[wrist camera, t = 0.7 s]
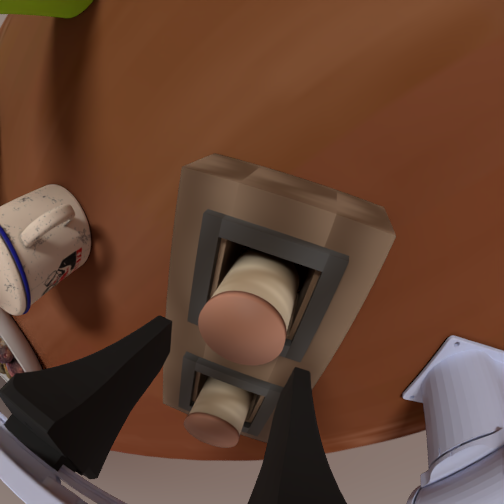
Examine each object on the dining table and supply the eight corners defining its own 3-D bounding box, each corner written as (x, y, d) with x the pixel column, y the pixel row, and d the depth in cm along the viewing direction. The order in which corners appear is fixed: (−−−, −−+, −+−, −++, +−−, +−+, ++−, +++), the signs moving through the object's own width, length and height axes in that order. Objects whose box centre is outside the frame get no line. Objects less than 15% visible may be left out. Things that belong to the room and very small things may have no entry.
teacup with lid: (65, 277, 29) (-9, 339, 19) (27, 205, 26) (-57, 252, 16) (130, 239, 24) (26, 323, 14) (81, 145, 21) (-41, 189, 11)
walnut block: (384, 207, 17) (397, 241, 13) (282, 408, 28) (271, 449, 24) (215, 153, 19) (176, 169, 14) (181, 371, 29) (160, 407, 25)
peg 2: (261, 379, 22) (242, 432, 18) (249, 405, 24) (232, 452, 20) (211, 361, 23) (185, 410, 18) (205, 389, 25) (182, 433, 20)
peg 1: (309, 260, 17) (296, 317, 12) (288, 315, 19) (270, 375, 14) (239, 237, 17) (204, 283, 13) (226, 293, 19) (194, 346, 15)
